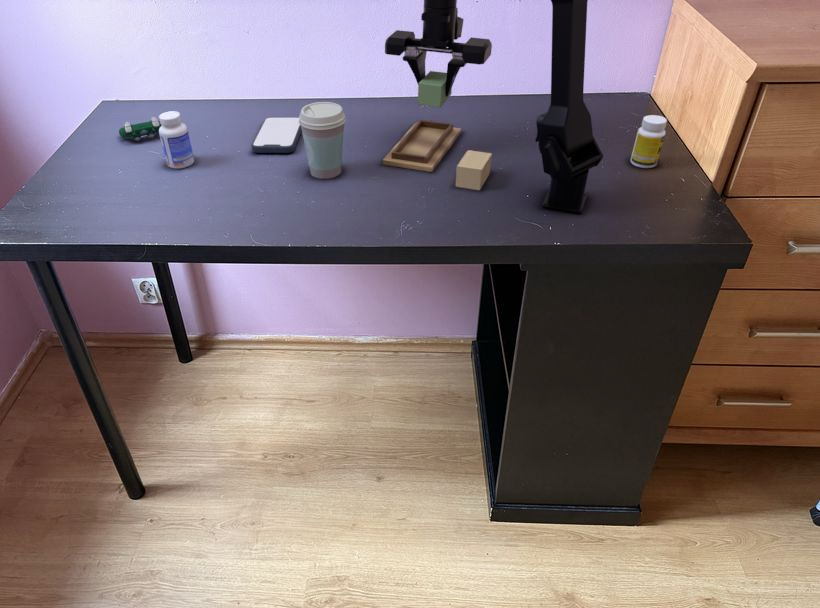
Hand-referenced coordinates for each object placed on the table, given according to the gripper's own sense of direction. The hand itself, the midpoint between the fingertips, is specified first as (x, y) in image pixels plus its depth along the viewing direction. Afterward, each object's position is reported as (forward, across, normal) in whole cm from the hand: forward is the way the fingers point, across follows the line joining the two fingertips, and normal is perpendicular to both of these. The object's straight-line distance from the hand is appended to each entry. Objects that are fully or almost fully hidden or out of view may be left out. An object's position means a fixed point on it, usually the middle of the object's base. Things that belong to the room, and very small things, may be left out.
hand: (435, 94), depth 125 cm
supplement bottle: (+10, -40, -5) cm, 41 cm away
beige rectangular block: (+10, -12, +12) cm, 19 cm away
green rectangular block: (+1, 0, 0) cm, 1 cm away
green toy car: (+11, +60, +15) cm, 62 cm away
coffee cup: (+11, +16, +18) cm, 26 cm away
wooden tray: (+10, +1, +2) cm, 11 cm away
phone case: (+11, +31, +7) cm, 34 cm away
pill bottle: (+11, +44, +24) cm, 51 cm away
